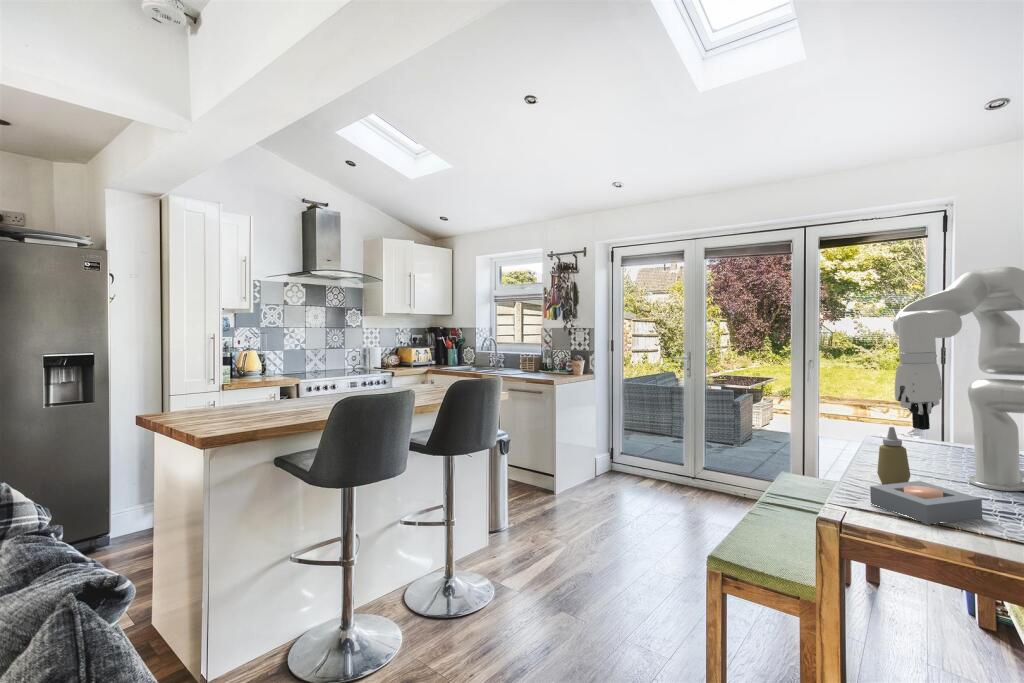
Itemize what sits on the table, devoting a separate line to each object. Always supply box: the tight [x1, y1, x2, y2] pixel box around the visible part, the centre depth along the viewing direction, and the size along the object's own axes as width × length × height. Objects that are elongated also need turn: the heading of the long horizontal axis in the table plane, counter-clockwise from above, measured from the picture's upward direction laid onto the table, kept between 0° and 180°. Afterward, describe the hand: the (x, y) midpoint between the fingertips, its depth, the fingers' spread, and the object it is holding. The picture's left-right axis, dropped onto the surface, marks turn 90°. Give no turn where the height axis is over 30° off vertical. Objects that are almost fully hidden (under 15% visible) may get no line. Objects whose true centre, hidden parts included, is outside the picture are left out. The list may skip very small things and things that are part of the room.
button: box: [904, 486, 943, 499], centre depth 131 cm, size 8×8×5 cm
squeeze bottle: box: [877, 426, 911, 485], centre depth 151 cm, size 8×8×18 cm
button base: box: [869, 480, 983, 526], centre depth 131 cm, size 16×16×5 cm
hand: (921, 428), depth 131 cm, fingers closed
